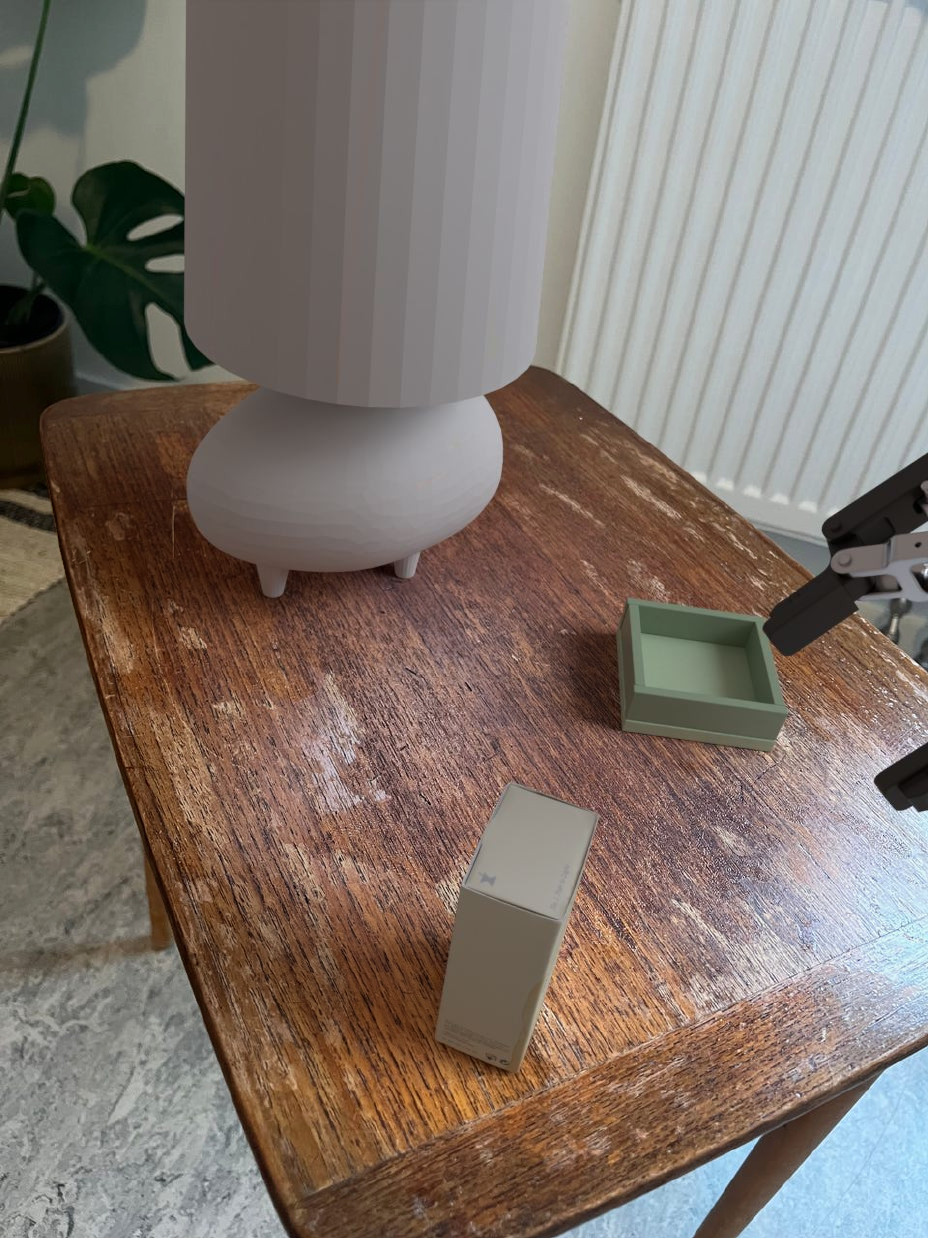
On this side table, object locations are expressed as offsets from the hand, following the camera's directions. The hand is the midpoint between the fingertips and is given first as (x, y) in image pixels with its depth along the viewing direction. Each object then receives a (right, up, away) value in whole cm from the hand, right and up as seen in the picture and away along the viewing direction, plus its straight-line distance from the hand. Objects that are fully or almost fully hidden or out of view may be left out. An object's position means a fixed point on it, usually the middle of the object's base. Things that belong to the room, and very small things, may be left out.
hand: (824, 714), depth 39 cm
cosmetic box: (-13, -15, +9) cm, 22 cm away
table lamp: (-23, +7, +33) cm, 41 cm away
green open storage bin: (+1, -1, +27) cm, 27 cm away
